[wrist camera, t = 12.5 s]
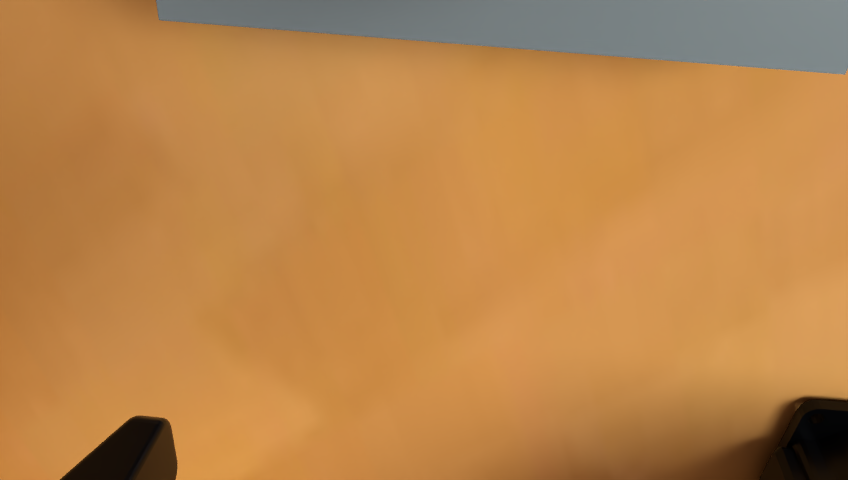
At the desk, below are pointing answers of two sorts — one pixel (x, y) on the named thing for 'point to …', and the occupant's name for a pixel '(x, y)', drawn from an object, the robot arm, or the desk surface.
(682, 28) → the socket block
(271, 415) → the desk surface
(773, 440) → the desk surface
